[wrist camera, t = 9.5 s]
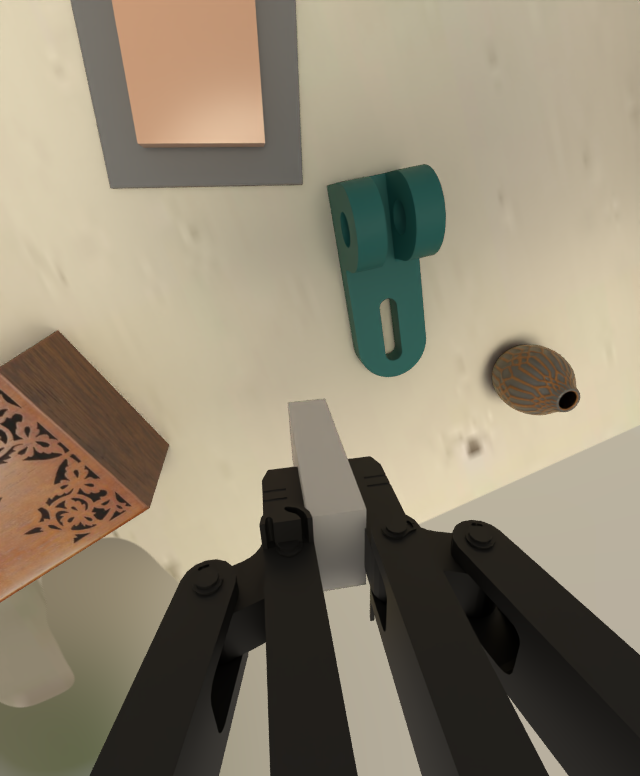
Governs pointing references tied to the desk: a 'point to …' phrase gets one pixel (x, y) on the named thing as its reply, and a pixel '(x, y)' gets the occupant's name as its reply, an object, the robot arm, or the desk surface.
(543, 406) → the vase
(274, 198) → the desk surface
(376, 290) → the bracket
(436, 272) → the desk surface
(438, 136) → the desk surface
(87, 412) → the tissue box cover
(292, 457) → the robot arm
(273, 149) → the mat
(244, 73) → the tile
